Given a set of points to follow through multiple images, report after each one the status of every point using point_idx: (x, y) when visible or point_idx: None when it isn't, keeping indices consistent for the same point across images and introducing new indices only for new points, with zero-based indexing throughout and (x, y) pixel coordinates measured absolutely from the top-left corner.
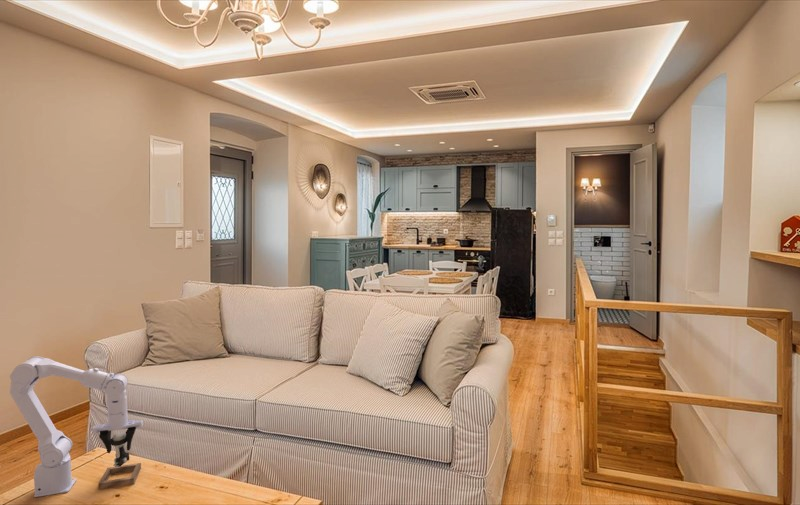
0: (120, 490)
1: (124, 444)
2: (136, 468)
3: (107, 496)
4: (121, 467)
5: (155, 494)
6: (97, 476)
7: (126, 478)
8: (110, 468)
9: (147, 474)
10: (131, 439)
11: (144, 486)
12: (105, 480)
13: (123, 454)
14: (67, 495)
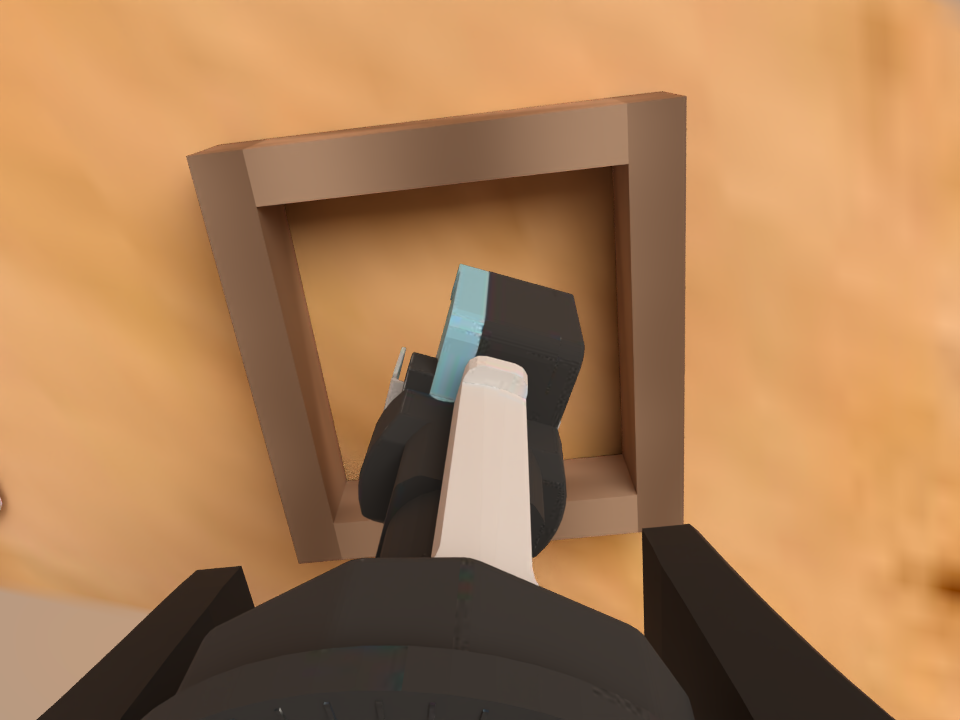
0: (553, 570)
1: (527, 515)
2: (658, 284)
3: None
4: (412, 186)
5: (896, 687)
6: (119, 202)
7: (593, 518)
8: (251, 191)
9: (779, 297)
10: (820, 697)
11: (780, 548)
12: (323, 433)
13: (538, 544)
14: (44, 553)
